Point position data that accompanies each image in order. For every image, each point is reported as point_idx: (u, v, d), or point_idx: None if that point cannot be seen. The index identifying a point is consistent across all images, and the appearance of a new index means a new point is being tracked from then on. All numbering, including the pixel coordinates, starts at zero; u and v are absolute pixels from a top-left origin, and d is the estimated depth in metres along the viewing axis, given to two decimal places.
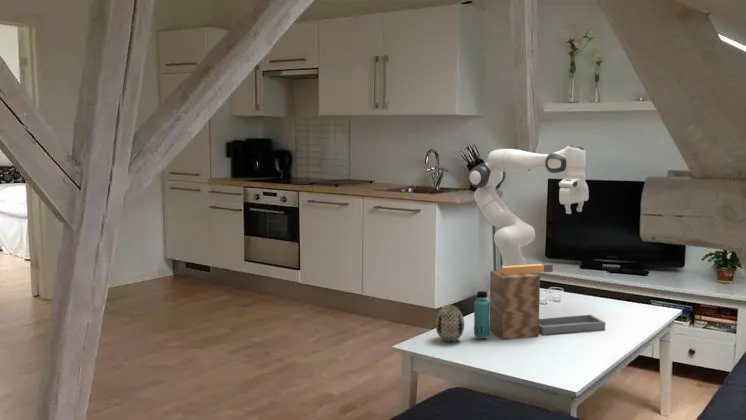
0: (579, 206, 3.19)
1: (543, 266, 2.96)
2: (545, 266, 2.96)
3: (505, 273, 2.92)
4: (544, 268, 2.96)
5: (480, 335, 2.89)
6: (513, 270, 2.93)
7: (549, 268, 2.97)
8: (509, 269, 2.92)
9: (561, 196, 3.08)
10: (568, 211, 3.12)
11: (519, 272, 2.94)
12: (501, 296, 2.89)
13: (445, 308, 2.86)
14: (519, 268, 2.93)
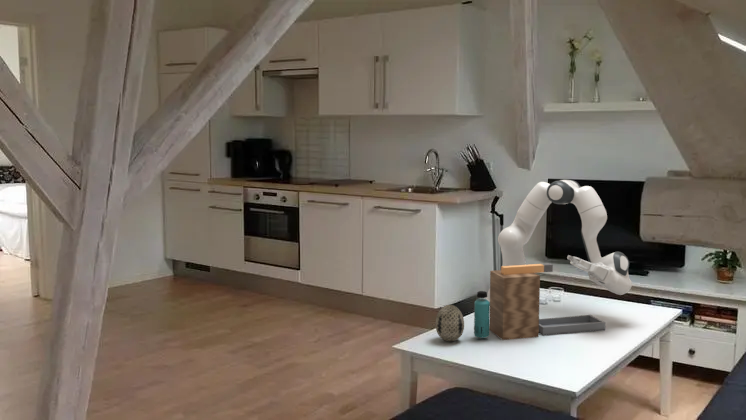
0: None
1: (543, 266, 2.96)
2: (545, 266, 2.96)
3: (505, 273, 2.92)
4: (544, 268, 2.96)
5: (480, 335, 2.89)
6: (513, 270, 2.93)
7: (549, 268, 2.97)
8: (509, 269, 2.92)
9: (602, 270, 2.93)
10: (582, 263, 2.96)
11: (519, 272, 2.94)
12: (501, 296, 2.89)
13: (445, 308, 2.86)
14: (519, 268, 2.93)
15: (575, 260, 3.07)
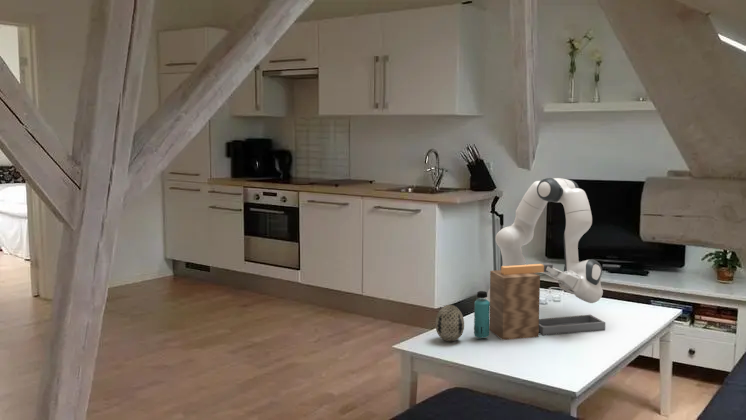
0: None
1: (543, 266, 2.96)
2: (545, 266, 2.96)
3: (505, 273, 2.92)
4: (544, 268, 2.96)
5: (480, 335, 2.89)
6: (513, 270, 2.93)
7: None
8: (509, 269, 2.92)
9: (571, 278, 2.90)
10: (548, 270, 2.95)
11: (519, 272, 2.94)
12: (501, 296, 2.89)
13: (445, 308, 2.86)
14: (519, 268, 2.93)
15: None
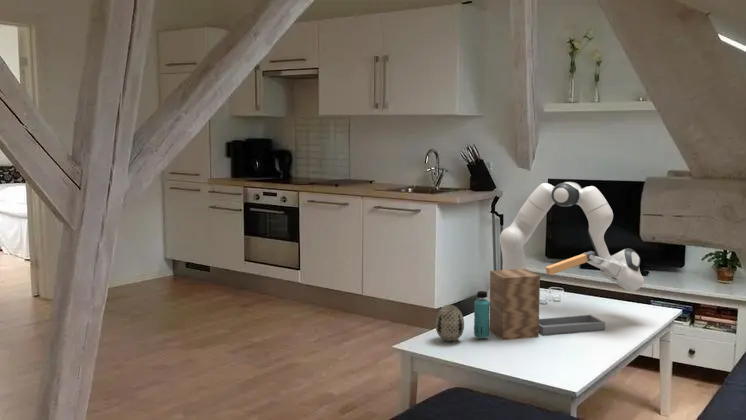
0: None
1: (586, 256, 3.00)
2: (588, 255, 3.00)
3: (551, 273, 2.97)
4: (587, 257, 3.00)
5: (480, 335, 2.89)
6: (558, 268, 2.98)
7: None
8: (553, 268, 2.97)
9: (615, 266, 2.94)
10: (592, 258, 2.99)
11: (564, 268, 2.98)
12: (501, 296, 2.89)
13: (445, 308, 2.86)
14: (563, 264, 2.98)
15: None
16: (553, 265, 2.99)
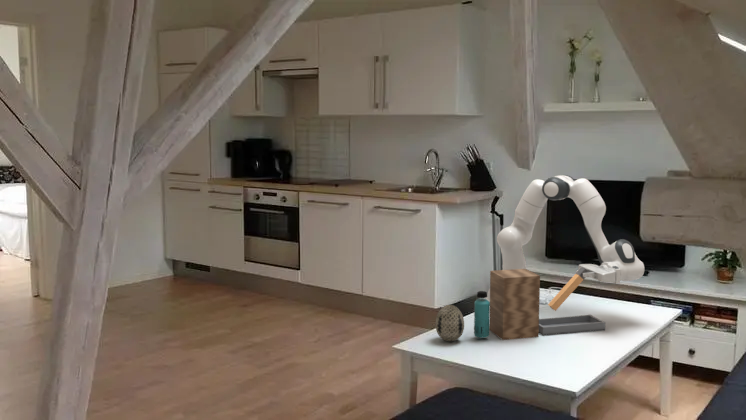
0: None
1: (579, 276, 3.01)
2: (581, 274, 3.01)
3: (555, 309, 3.00)
4: (581, 276, 3.01)
5: (480, 335, 2.89)
6: (559, 301, 3.00)
7: None
8: (555, 304, 3.00)
9: (609, 275, 2.94)
10: (585, 275, 3.00)
11: (565, 298, 3.00)
12: (501, 296, 2.89)
13: (445, 308, 2.86)
14: (562, 295, 3.00)
15: None
16: (554, 300, 3.01)
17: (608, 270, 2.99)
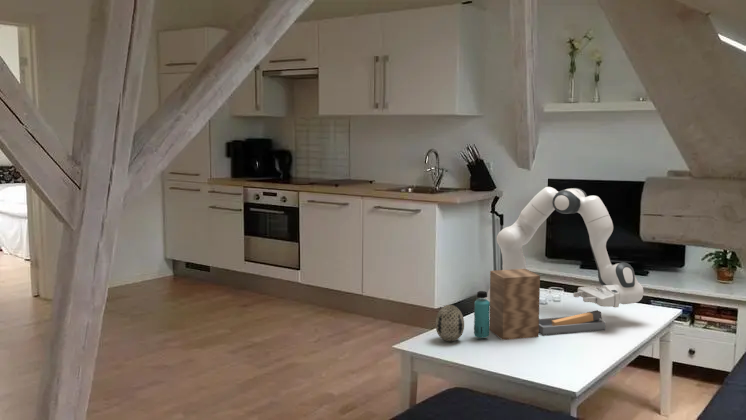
0: None
1: (592, 315, 3.04)
2: (594, 314, 3.05)
3: None
4: (593, 316, 3.05)
5: (480, 335, 2.89)
6: (564, 323, 3.02)
7: (598, 315, 3.05)
8: (559, 323, 3.01)
9: (608, 299, 2.96)
10: (587, 300, 2.99)
11: None
12: (501, 296, 2.89)
13: (445, 308, 2.86)
14: (569, 320, 3.02)
15: (582, 293, 3.09)
16: (559, 320, 3.03)
17: (607, 294, 3.01)
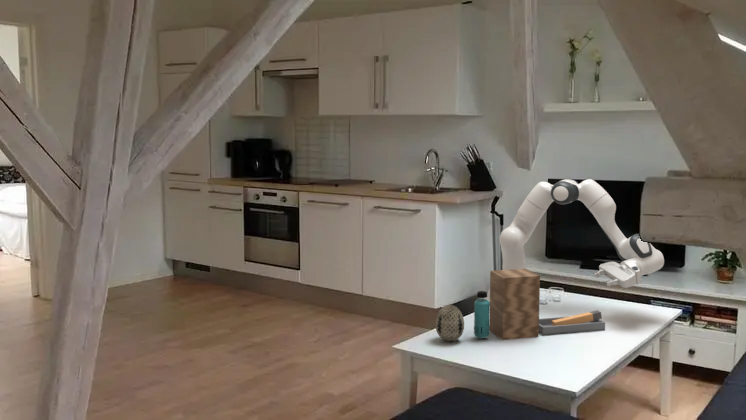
0: (599, 273, 3.13)
1: (592, 315, 3.04)
2: (594, 314, 3.05)
3: None
4: (593, 316, 3.05)
5: (480, 335, 2.89)
6: (564, 323, 3.02)
7: (598, 315, 3.05)
8: (559, 323, 3.01)
9: (630, 280, 2.99)
10: (610, 284, 3.03)
11: None
12: (501, 296, 2.89)
13: (445, 308, 2.86)
14: (569, 320, 3.02)
15: (603, 272, 3.13)
16: (559, 320, 3.03)
17: (628, 272, 3.04)
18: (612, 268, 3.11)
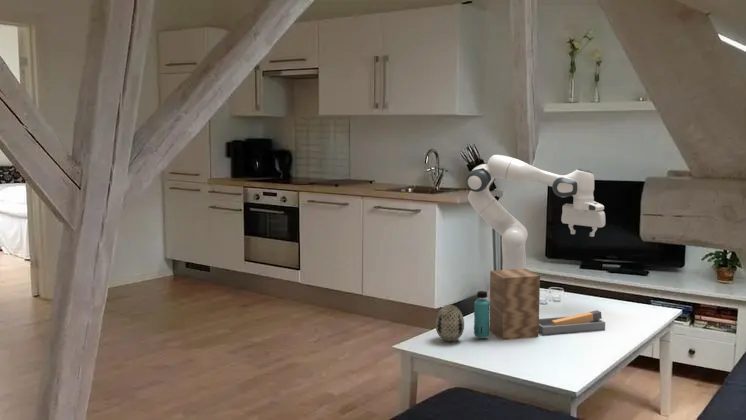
0: (572, 229, 3.24)
1: (592, 315, 3.04)
2: (594, 314, 3.05)
3: None
4: (593, 316, 3.05)
5: (480, 335, 2.89)
6: (564, 323, 3.02)
7: (598, 315, 3.05)
8: (559, 323, 3.01)
9: (602, 219, 3.12)
10: (593, 234, 3.17)
11: None
12: (501, 296, 2.89)
13: (445, 308, 2.86)
14: (569, 320, 3.02)
15: (572, 225, 3.24)
16: (559, 320, 3.03)
17: (591, 213, 3.14)
18: (575, 218, 3.20)
